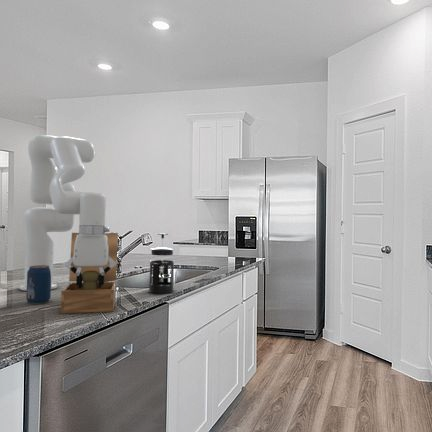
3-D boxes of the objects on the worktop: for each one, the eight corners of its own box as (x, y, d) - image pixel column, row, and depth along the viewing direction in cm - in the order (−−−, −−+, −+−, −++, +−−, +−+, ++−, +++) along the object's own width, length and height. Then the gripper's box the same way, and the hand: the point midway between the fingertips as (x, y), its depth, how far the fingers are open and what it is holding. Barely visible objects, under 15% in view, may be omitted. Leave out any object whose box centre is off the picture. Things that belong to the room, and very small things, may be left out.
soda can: (52, 300, 147) (53, 265, 147) (47, 304, 140) (48, 267, 140) (29, 300, 145) (30, 265, 145) (23, 304, 138) (24, 267, 138)
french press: (155, 288, 174) (156, 232, 174) (177, 290, 173) (179, 233, 173) (142, 294, 162) (144, 233, 162) (166, 295, 161) (168, 234, 161)
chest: (113, 311, 133) (113, 289, 133) (60, 313, 128) (61, 291, 128) (115, 301, 148) (116, 281, 148) (68, 303, 143) (69, 282, 143)
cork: (91, 307, 134) (93, 272, 134) (74, 306, 135) (76, 271, 135) (103, 303, 140) (105, 270, 140) (87, 302, 141) (88, 269, 141)
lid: (117, 233, 150) (118, 233, 151) (71, 232, 145) (72, 232, 146) (116, 280, 148) (116, 280, 148) (69, 281, 143) (69, 281, 143)
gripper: (121, 231, 144) (119, 285, 144) (64, 230, 138) (62, 286, 138) (120, 232, 136) (118, 288, 137) (60, 231, 131) (58, 290, 131)
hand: (90, 286), depth 137 cm, fingers closed on cork, 5 cm apart
